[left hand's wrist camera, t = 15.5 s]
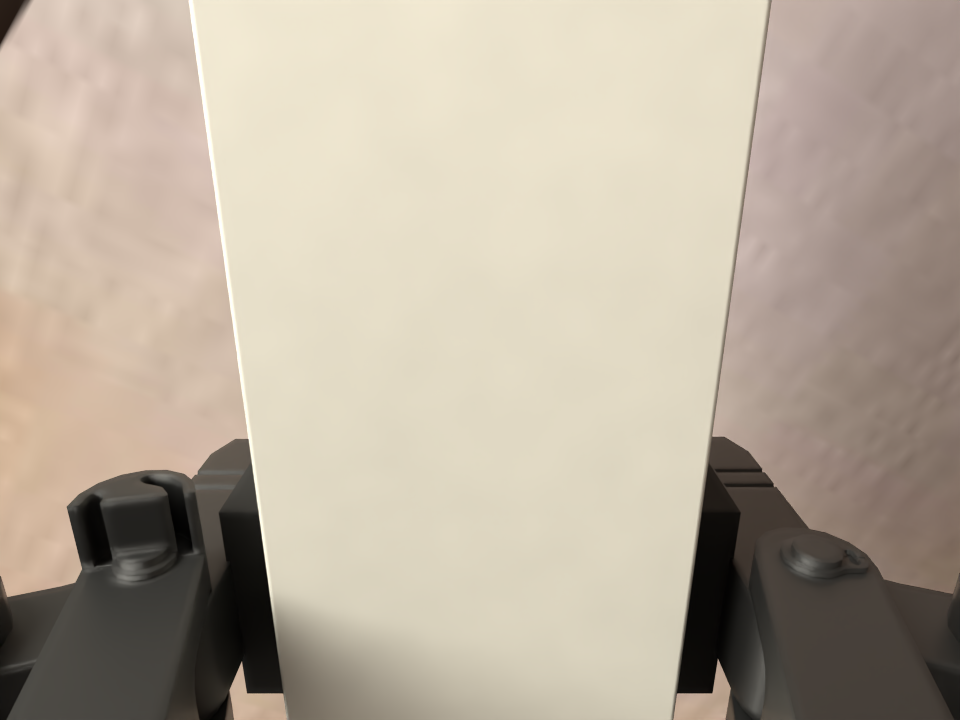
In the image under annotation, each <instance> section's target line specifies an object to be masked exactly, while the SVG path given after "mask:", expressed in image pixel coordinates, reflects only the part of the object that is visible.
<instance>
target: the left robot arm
mask: <svg viewBox="0 0 960 720" xmlns="http://www.w3.org/2000/svg"><path fill="white" fill-rule="evenodd" d="M67 510H68V514H69V518H70V522H71V526H72V530H73V534H74V538H75V542H76V546H77V550H78V554H79V558H80V562H81V566H82V571H81V573H80V575H79V577H78V579H77V581H76V583H73V584H69V585H65V586H61V587H56V588H51V589H46V590H41V591H36V592H31V593H26V594H21V595H16V596H11V597H7V595H6V592H5V589H4V585H3V582H2V579H1V576H0V720H234V717H233V710H232V703H231V697H230V691H229V690H230V687H231V685H232V683H233V680H234V678H235V676H236V673H237V671H238V669H239V666H240V664H241V662H242V664H243V670H244V676H245V683H246V689H247V693H283V687H282V679H281V672H280V665H279V657H278V650H277V643H276V635H275V628H274V621H273V613H272V606H271V599H270V591H269V584H268V577H267V570H266V562H265V555H264V548H263V540H262V533H261V526H260V518H259V511H258V504H257V496H256V489H255V482H254V474H253V467H252V460H251V452H250V445H249V439H235V440H233V441H232V442H230V443H228V444H227V445H225V446H223V447H222V448H220V449H219V450H217V451H215V452H214V453H212V454H211V455H210V456H209V458H208V459H207V460H206V462H205V463H204V464H203V465H202V467H201V468H200V469H199V471H198V475H195V476H194V477H193V478H192V480H191V479H190V478H189V477H187V476H186V475H185V474H182V473H178V472H173V471H169V470H145V471H140V472H135V473H129V474H124V475H120V476H117V477H114V478H112V479H109V480H106V481H103V482H100V483H98V484H96V485H94V486H93V487H91V488H89V489H87V490H86V491H84V492H82V493H80V494H79V495H78V496H77V497H76V498H75V499H74V500H73V501H72V502H71V503H70V504H69V505H68V506H67ZM718 659H719V662H720V664H721V666H722V669H723V671H724V673H725V676H726V678H727V680H728V682H729V685H730V687H731V691H730V697H729V703H728V709H727V714H726V720H960V573H959V577H958V580H957V583H956V587H955V590H954V593H953V594H949V593H944V592H939V591H934V590H929V589H924V588H919V587H914V586H909V585H904V584H899V583H895V582H891V581H887V580H884V579H883V578H882V576H881V574H880V572H879V570H878V568H877V567H876V566H875V564H874V563H873V562H872V561H871V559H870V558H869V557H868V556H867V555H866V554H865V553H864V552H862V551H861V550H859V549H858V548H856V547H855V546H853V545H852V544H850V543H849V542H847V541H844V540H842V539H840V538H837V537H835V536H832V535H830V534H828V533H825V532H820V531H815V530H811V529H809V528H808V527H807V526H806V524H805V523H804V522H803V520H802V519H801V518H800V517H799V515H798V514H797V513H796V512H795V510H794V509H793V508H792V506H791V505H790V504H789V503H788V501H787V500H786V499H785V498H784V496H783V495H782V494H781V492H780V491H779V490H778V489H777V487H774V486H773V482H772V481H771V480H770V478H769V477H768V476H767V475H766V473H765V472H762V468H761V467H760V466H759V464H758V463H757V462H756V461H755V459H754V458H753V457H752V456H751V454H750V453H749V452H748V451H747V450H745V449H743V448H742V447H740V446H738V445H737V444H735V443H734V442H732V441H730V440H729V439H727V438H725V437H712V440H711V447H710V455H709V462H708V469H707V476H706V484H705V491H704V498H703V506H702V513H701V520H700V528H699V535H698V542H697V550H696V557H695V564H694V571H693V579H692V586H691V593H690V601H689V608H688V615H687V623H686V630H685V637H684V645H683V652H682V659H681V666H680V674H679V681H678V688H677V693H712V692H713V686H714V680H715V673H716V667H717V661H718Z"/></svg>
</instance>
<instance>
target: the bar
mask: <svg viewBox="0 0 960 720" xmlns="http://www.w3.org/2000/svg"><path fill="white" fill-rule="evenodd" d="M771 2H772V0H189V6H190V13H191V21H192V28H193V35H194V43H195V50H196V57H197V64H198V72H199V79H200V86H201V94H202V101H203V108H204V116H205V123H206V130H207V138H208V145H209V152H210V160H211V167H212V174H213V182H214V189H215V196H216V204H217V211H218V218H219V226H220V233H221V240H222V247H223V255H224V262H225V269H226V277H227V284H228V291H229V299H230V306H231V313H232V321H233V328H234V335H235V343H236V350H237V357H238V365H239V372H240V379H241V387H242V394H243V401H244V408H245V416H246V423H247V430H248V438H249V445H250V452H251V460H252V467H253V474H254V482H255V489H256V496H257V504H258V511H259V518H260V526H261V533H262V540H263V548H264V555H265V562H266V570H267V577H268V584H269V591H270V599H271V606H272V613H273V621H274V628H275V635H276V643H277V650H278V657H279V665H280V672H281V679H282V687H283V694H284V701H285V709H286V716H287V720H673V718H674V710H675V703H676V696H677V688H678V681H679V674H680V666H681V659H682V652H683V645H684V637H685V630H686V623H687V615H688V608H689V601H690V593H691V586H692V579H693V571H694V564H695V557H696V550H697V542H698V535H699V528H700V520H701V513H702V506H703V498H704V491H705V484H706V476H707V469H708V462H709V455H710V447H711V440H712V433H713V425H714V418H715V411H716V403H717V396H718V389H719V382H720V374H721V367H722V360H723V352H724V345H725V338H726V330H727V323H728V316H729V308H730V301H731V294H732V286H733V279H734V272H735V265H736V257H737V250H738V243H739V235H740V228H741V221H742V213H743V206H744V199H745V192H746V184H747V177H748V170H749V162H750V155H751V148H752V140H753V133H754V126H755V118H756V111H757V104H758V97H759V89H760V82H761V75H762V67H763V60H764V53H765V45H766V38H767V31H768V23H769V16H770V9H771Z"/></svg>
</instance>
